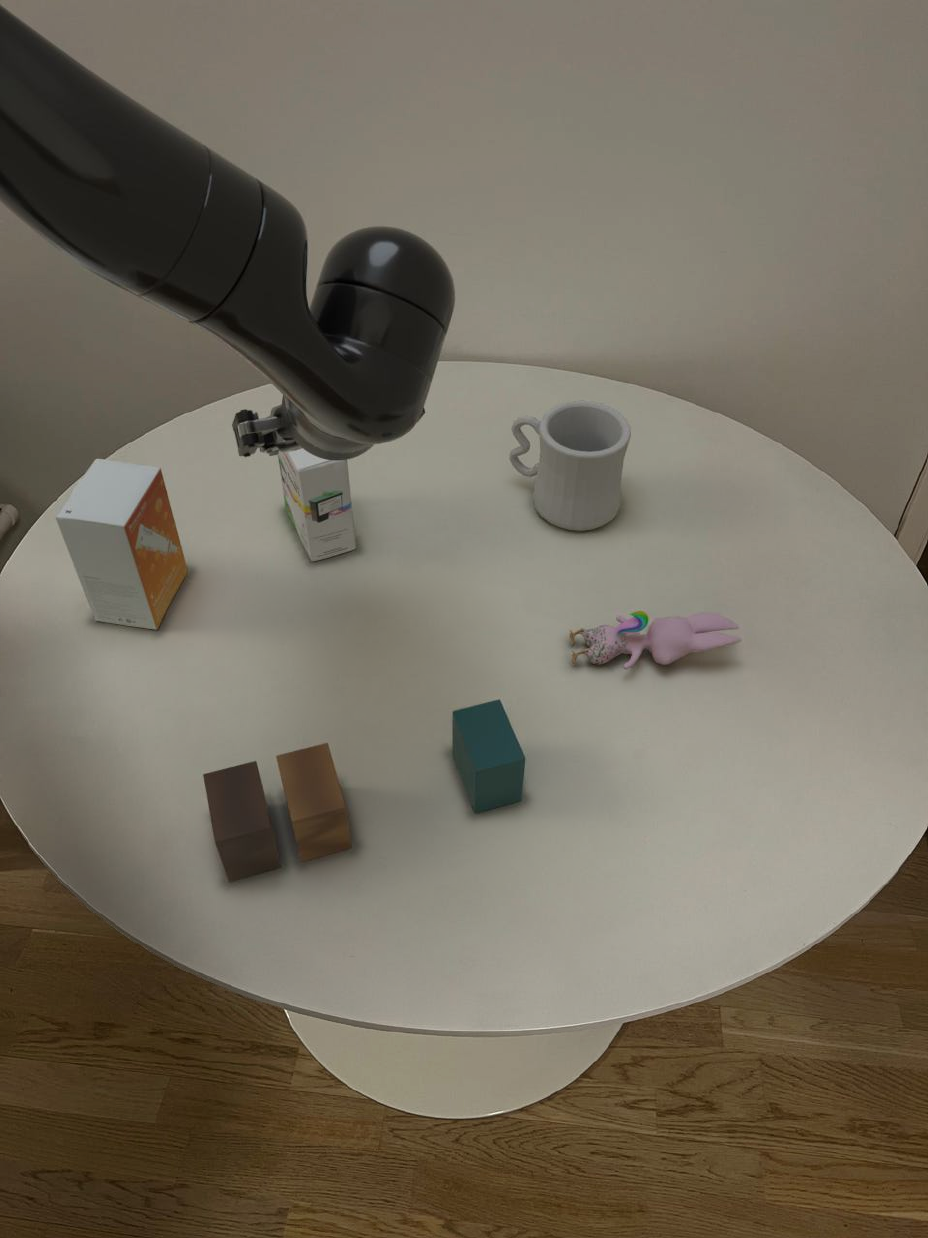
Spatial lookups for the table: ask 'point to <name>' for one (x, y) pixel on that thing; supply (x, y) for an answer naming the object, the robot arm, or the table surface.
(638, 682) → the table surface
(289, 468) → the ink box
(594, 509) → the mug
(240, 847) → the walnut block
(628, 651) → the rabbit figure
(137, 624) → the small box
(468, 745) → the teal block
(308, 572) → the table surface
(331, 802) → the oak block
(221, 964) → the table surface
